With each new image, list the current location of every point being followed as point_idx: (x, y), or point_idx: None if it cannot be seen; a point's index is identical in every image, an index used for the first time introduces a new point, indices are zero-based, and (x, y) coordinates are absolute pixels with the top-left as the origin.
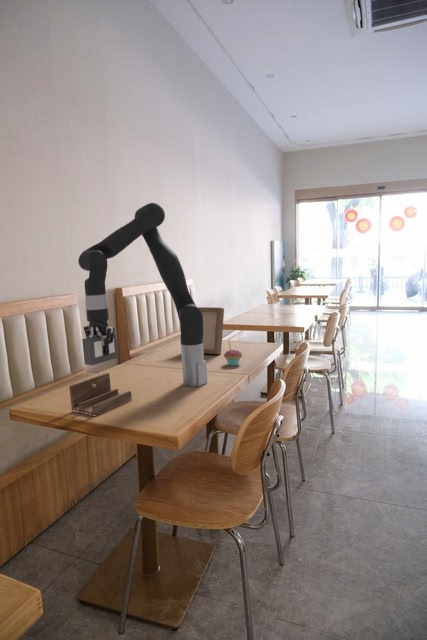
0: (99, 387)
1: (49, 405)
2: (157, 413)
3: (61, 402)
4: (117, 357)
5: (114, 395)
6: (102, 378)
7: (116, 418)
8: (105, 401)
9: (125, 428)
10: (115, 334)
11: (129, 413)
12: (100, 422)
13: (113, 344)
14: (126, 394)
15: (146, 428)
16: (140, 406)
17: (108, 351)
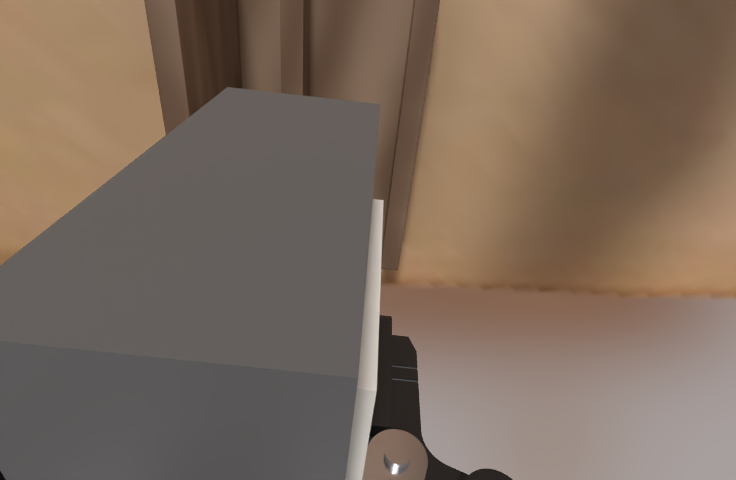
0: (219, 76)
1: (60, 200)
2: (704, 118)
3: (65, 149)
4: (379, 110)
5: (309, 2)
6: (191, 45)
7: (508, 230)
8: (399, 197)
9: (603, 293)
10: (358, 369)
11: (541, 164)
12: (462, 279)
13: (377, 287)
14: (434, 26)
15: (697, 272)
16: (555, 54)
17: (414, 369)
